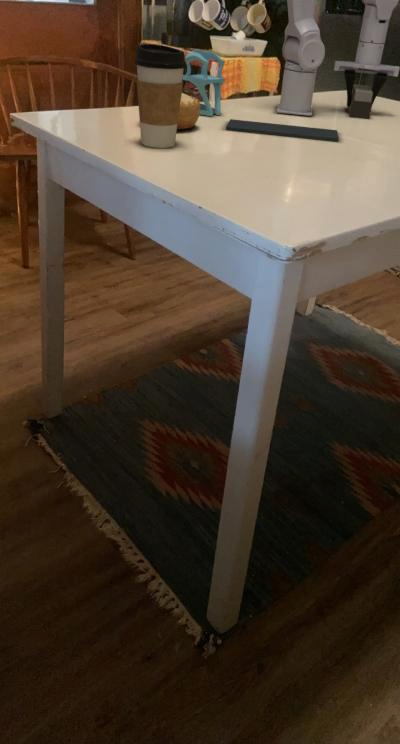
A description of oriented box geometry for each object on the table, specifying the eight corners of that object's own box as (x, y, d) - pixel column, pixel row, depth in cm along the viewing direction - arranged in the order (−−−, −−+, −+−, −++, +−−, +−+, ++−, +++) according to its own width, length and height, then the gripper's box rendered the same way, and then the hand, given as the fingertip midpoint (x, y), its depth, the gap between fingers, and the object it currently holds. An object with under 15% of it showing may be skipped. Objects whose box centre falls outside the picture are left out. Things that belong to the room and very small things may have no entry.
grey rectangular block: (347, 107, 150) (351, 83, 147) (364, 109, 149) (369, 85, 146) (349, 117, 140) (354, 91, 137) (369, 118, 139) (374, 93, 136)
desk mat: (230, 122, 125) (230, 119, 125) (336, 133, 124) (337, 130, 123) (225, 130, 119) (225, 126, 119) (338, 141, 117) (338, 138, 117)
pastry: (203, 134, 114) (207, 82, 109) (140, 132, 112) (141, 79, 107) (194, 120, 124) (197, 72, 119) (136, 118, 122) (136, 69, 117)
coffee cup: (160, 136, 111) (162, 43, 102) (192, 146, 106) (197, 49, 98) (123, 141, 105) (123, 44, 97) (155, 152, 101) (158, 50, 92)
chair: (204, 117, 127) (209, 54, 121) (175, 110, 132) (178, 48, 125) (227, 114, 132) (233, 52, 126) (199, 107, 137) (202, 47, 130)
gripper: (340, 40, 134) (328, 106, 141) (406, 46, 132) (391, 113, 140) (338, 38, 140) (327, 101, 147) (402, 44, 138) (388, 107, 146)
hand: (358, 106), depth 144 cm, fingers closed on grey rectangular block, 4 cm apart
